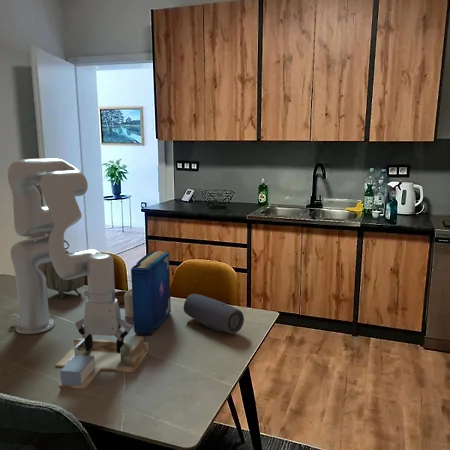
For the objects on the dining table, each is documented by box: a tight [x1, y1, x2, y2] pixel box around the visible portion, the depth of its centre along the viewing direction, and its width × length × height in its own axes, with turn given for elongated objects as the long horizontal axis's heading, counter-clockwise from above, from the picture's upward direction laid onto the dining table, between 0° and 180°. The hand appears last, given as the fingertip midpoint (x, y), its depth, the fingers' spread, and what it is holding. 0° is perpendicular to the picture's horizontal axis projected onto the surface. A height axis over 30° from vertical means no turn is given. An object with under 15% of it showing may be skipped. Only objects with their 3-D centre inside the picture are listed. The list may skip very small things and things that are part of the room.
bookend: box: [68, 339, 91, 362], centre depth 133 cm, size 3×9×5 cm, turn 172°
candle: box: [124, 288, 134, 319], centre depth 166 cm, size 6×6×10 cm
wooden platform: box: [55, 335, 150, 390], centre depth 128 cm, size 24×24×6 cm
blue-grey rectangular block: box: [59, 355, 95, 386], centre depth 122 cm, size 6×9×4 cm, turn 172°
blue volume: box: [130, 250, 172, 336], centre depth 156 cm, size 22×7×25 cm, turn 168°
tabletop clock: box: [43, 239, 86, 299], centre depth 184 cm, size 14×9×25 cm, turn 66°
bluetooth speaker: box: [183, 293, 245, 335], centre depth 156 cm, size 23×9×10 cm, turn 45°
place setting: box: [115, 290, 128, 309], centre depth 177 cm, size 18×20×6 cm
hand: (104, 350), depth 132 cm, fingers open, 9 cm apart
